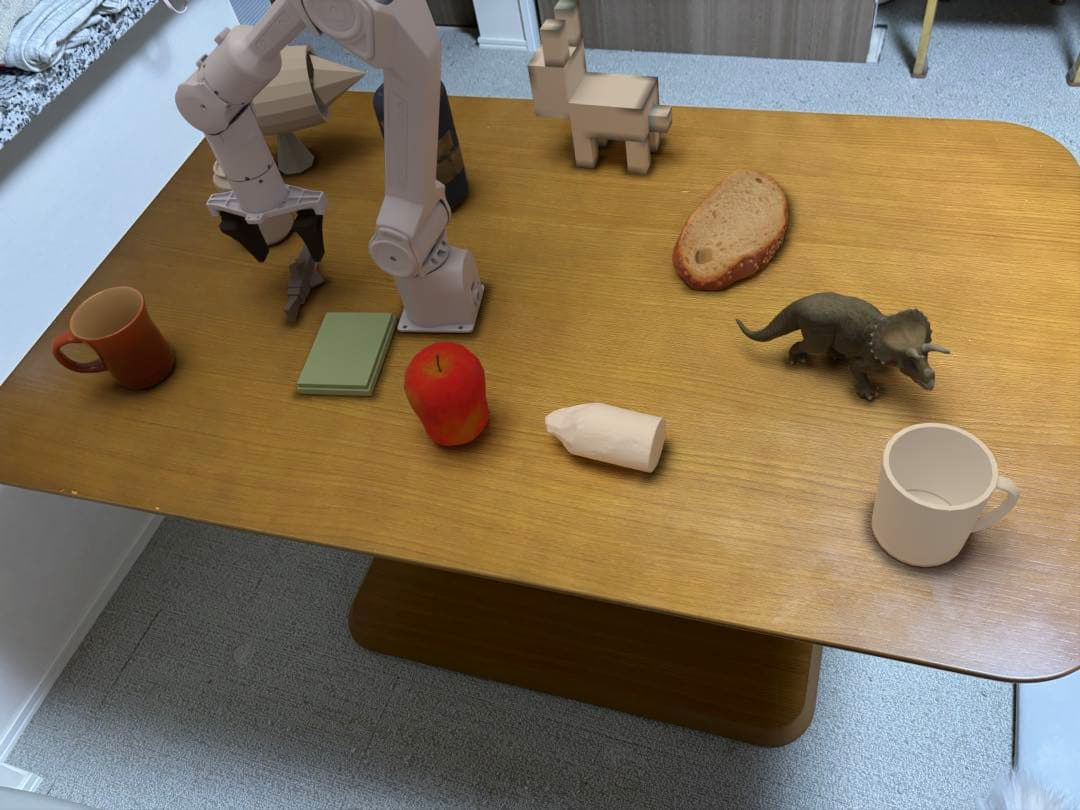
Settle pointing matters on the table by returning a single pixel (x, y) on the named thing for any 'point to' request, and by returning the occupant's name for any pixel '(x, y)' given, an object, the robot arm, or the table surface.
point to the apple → (448, 392)
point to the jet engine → (300, 101)
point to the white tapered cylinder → (609, 434)
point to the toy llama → (594, 95)
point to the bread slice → (732, 231)
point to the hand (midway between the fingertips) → (292, 257)
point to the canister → (439, 148)
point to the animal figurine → (301, 282)
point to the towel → (347, 354)
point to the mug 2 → (935, 493)
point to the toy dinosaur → (856, 337)
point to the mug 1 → (118, 339)
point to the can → (272, 226)
